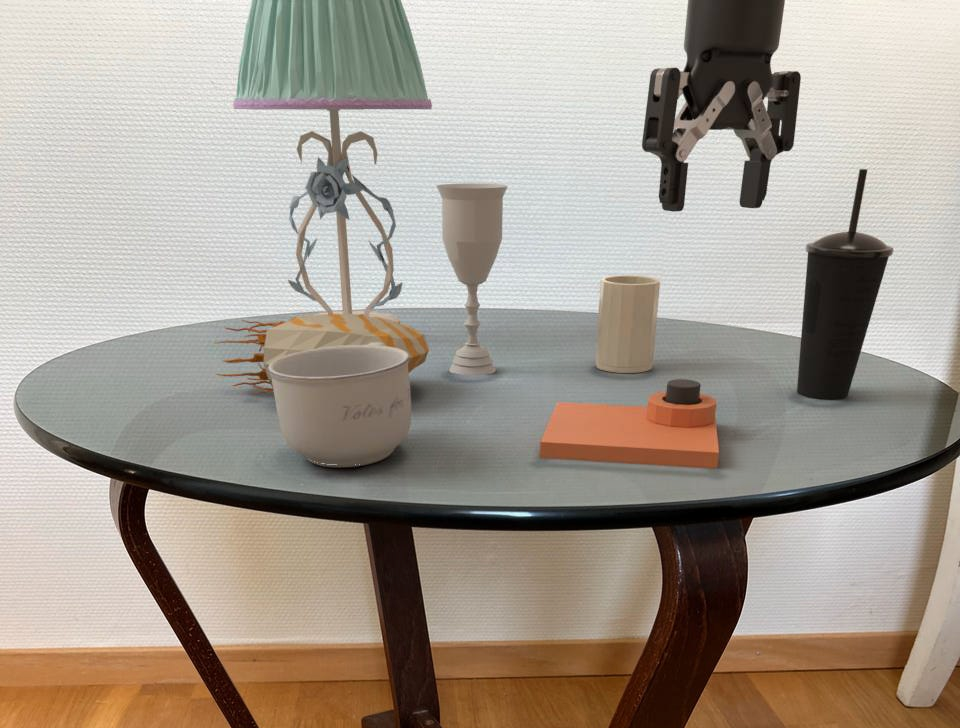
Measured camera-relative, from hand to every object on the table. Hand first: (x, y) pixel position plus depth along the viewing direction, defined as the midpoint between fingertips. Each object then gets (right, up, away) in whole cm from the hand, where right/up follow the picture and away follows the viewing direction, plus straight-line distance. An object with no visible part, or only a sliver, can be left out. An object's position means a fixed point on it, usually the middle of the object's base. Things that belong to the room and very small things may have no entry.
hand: (712, 209), depth 82 cm
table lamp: (-36, -1, +34) cm, 50 cm away
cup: (-4, -8, +21) cm, 23 cm away
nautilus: (-36, -13, +11) cm, 40 cm away
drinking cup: (+14, -13, +11) cm, 22 cm away
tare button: (-3, -17, -1) cm, 18 cm away
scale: (-7, -21, -2) cm, 22 cm away
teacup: (-30, -22, -4) cm, 38 cm away
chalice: (-21, -9, +20) cm, 30 cm away
